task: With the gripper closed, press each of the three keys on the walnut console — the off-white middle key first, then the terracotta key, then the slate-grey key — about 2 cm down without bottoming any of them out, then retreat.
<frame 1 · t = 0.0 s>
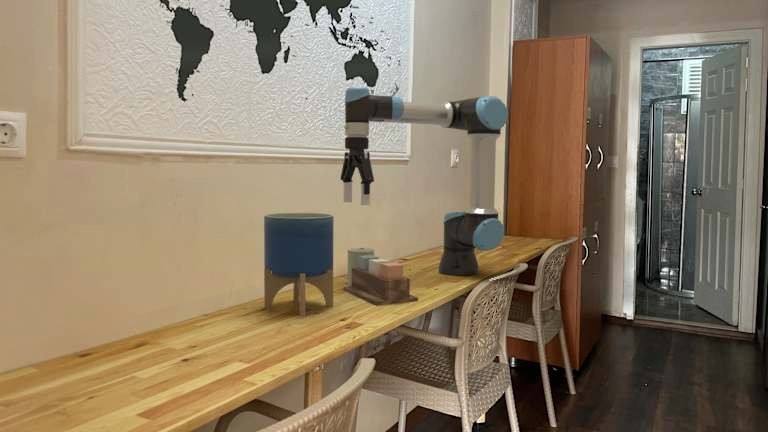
hand: (356, 203, 197), 28 cm above the counter, fingers open, 13 cm apart
key white: (379, 270, 191), point 8 cm above the counter, slide at 0.0 cm
key slate: (368, 266, 198), point 8 cm above the counter, slide at 0.0 cm
console: (379, 295, 191), on the counter
key terracotta: (391, 274, 184), point 8 cm above the counter, slide at 0.0 cm
planter: (299, 308, 174), on the counter
can: (360, 283, 211), on the counter
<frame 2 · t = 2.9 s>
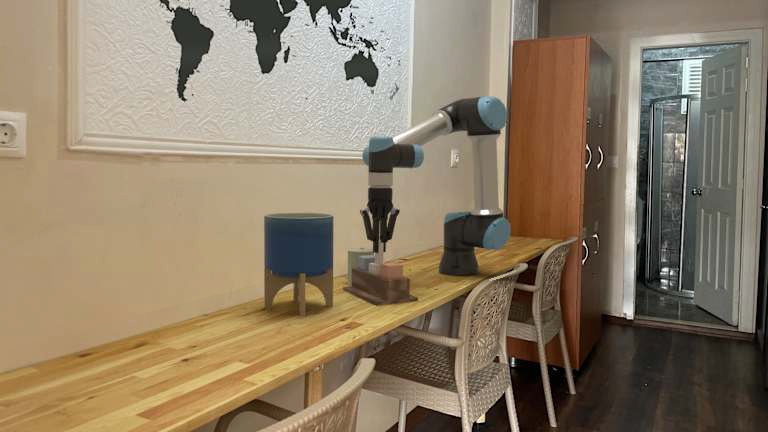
hand: (379, 263, 191), 10 cm above the counter, fingers closed
key white: (379, 274, 191), point 7 cm above the counter, slide at 1.1 cm, touching gripper
everything else where it was.
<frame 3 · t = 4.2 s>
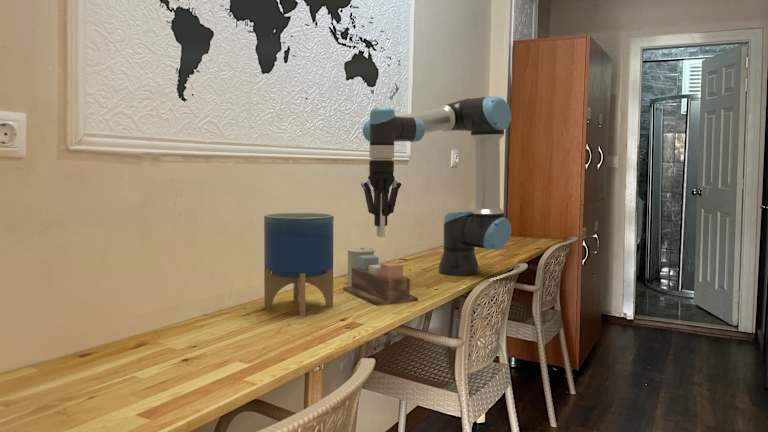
hand: (380, 236, 189), 18 cm above the counter, fingers closed
key white: (379, 276, 191), point 6 cm above the counter, slide at 1.8 cm
everything else where it was.
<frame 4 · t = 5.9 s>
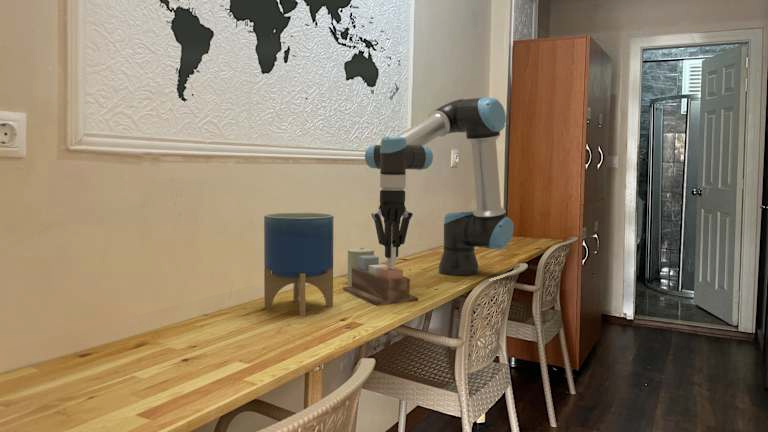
hand: (391, 268, 183), 10 cm above the counter, fingers closed
key terracotta: (391, 279, 184), point 6 cm above the counter, slide at 1.5 cm, touching gripper
everything else where it was.
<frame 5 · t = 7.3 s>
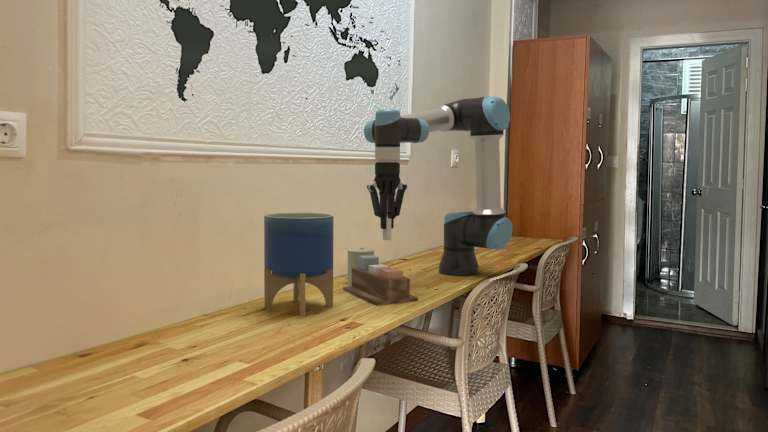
hand: (386, 239, 186), 18 cm above the counter, fingers closed
key terracotta: (391, 280, 184), point 6 cm above the counter, slide at 1.8 cm
everything else where it was.
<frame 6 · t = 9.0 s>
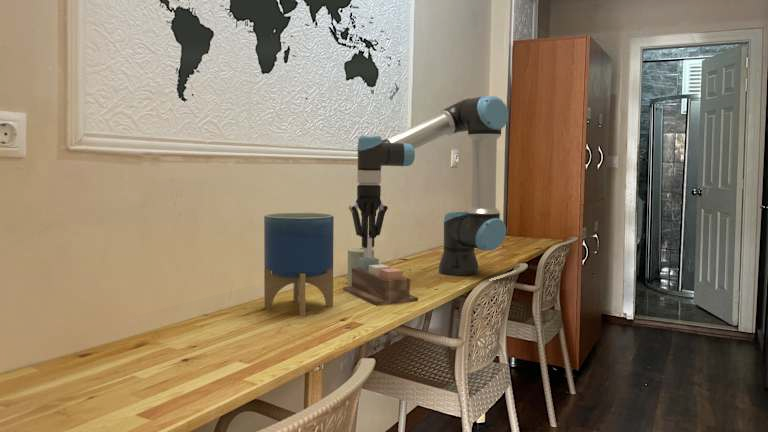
hand: (367, 257, 198), 11 cm above the counter, fingers closed
key slate: (368, 268, 198), point 7 cm above the counter, slide at 0.6 cm, touching gripper
everything else where it was.
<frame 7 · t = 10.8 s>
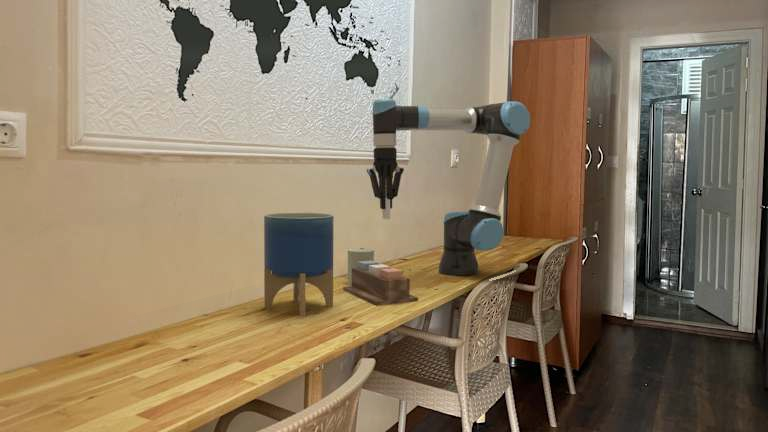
hand: (386, 218, 204), 23 cm above the counter, fingers closed
key slate: (368, 272, 198), point 6 cm above the counter, slide at 1.8 cm
everything else where it was.
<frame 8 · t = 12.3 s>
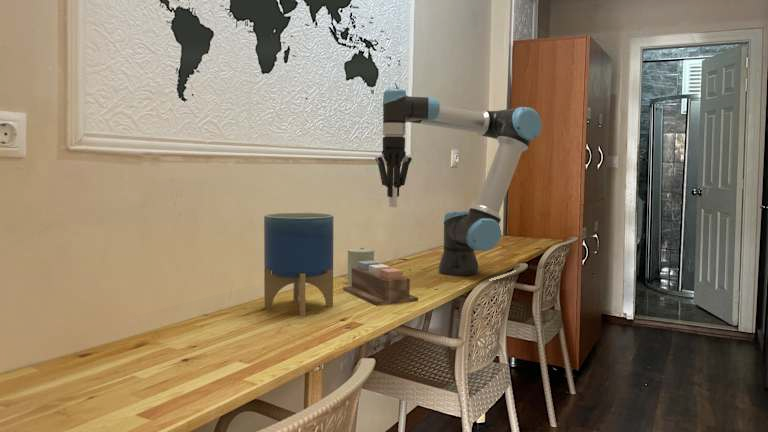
hand: (393, 206, 207), 26 cm above the counter, fingers closed
nothing on the counter moved.
at the end: key white slide at 1.8 cm; key terracotta slide at 1.8 cm; key slate slide at 1.8 cm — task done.
